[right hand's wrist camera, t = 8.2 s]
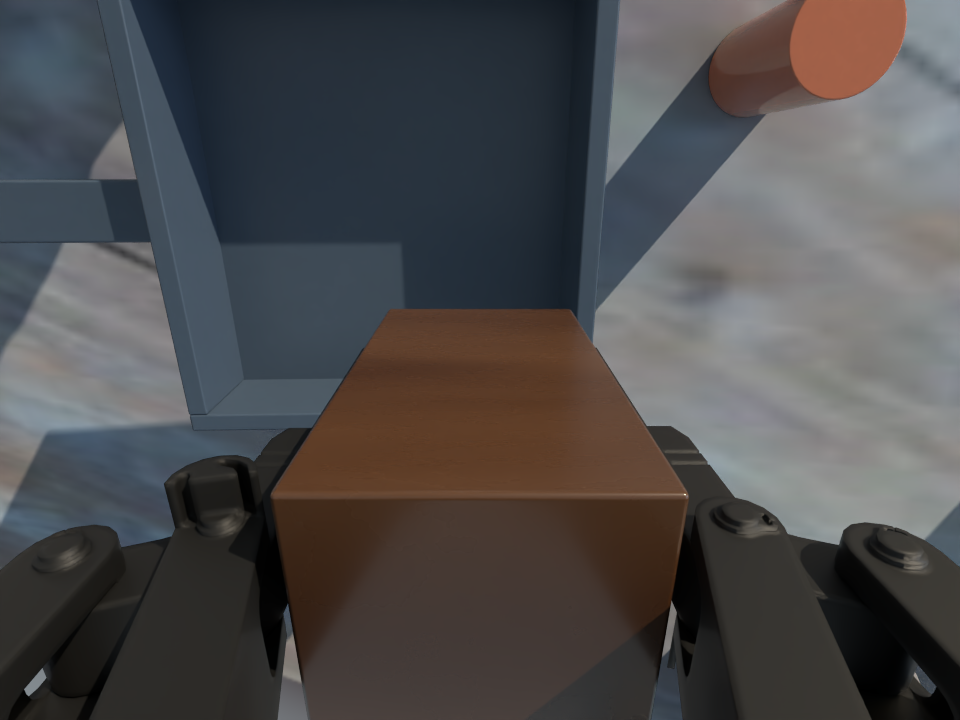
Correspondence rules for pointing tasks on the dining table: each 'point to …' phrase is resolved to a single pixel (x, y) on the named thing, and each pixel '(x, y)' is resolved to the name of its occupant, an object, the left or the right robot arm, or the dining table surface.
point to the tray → (342, 177)
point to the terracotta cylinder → (806, 54)
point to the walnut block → (479, 529)
